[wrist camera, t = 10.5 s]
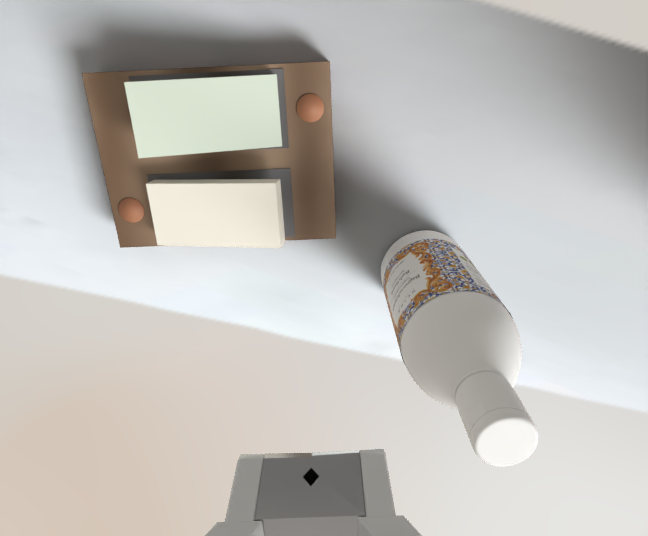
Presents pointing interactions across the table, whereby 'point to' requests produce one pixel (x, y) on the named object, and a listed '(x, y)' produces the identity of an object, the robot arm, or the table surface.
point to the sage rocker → (204, 114)
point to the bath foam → (459, 342)
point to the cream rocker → (217, 212)
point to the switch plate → (262, 163)
